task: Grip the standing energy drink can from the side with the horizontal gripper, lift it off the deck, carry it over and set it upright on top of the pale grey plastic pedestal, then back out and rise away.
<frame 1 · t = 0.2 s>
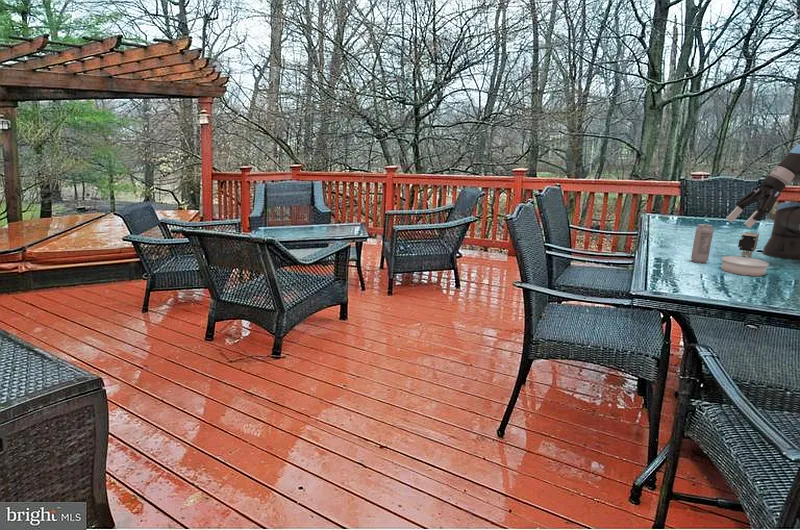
hand: (737, 223, 205), 15 cm above the table, tool tilted 35°, fingers open, 13 cm apart
pedestal: (742, 271, 191), on the table
energy drink can: (698, 262, 204), on the table
pneumatic valve: (744, 260, 209), on the table
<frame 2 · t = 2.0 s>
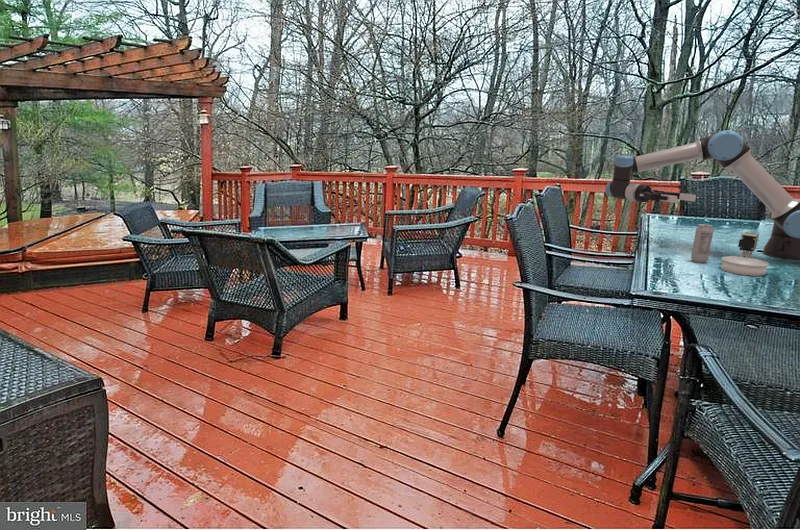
hand: (686, 198, 206), 24 cm above the table, tool horizontal, fingers open, 13 cm apart
nothing on the table moved.
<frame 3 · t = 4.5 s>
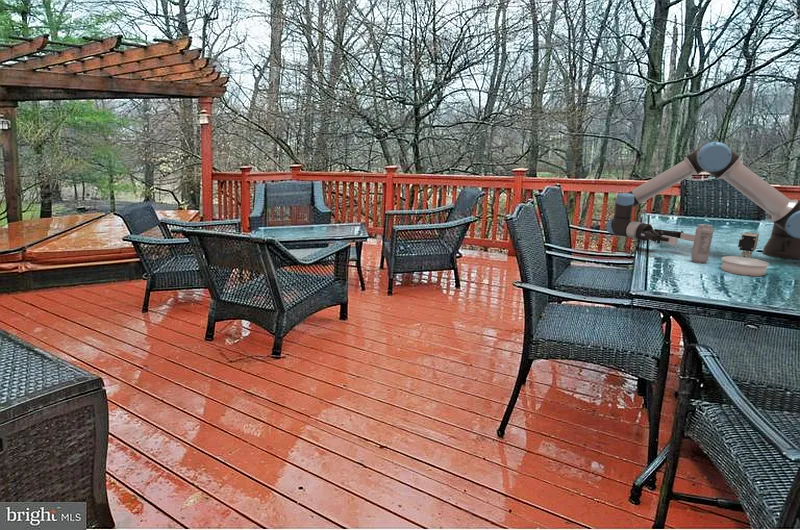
hand: (686, 240, 207), 8 cm above the table, tool horizontal, fingers open, 13 cm apart
nothing on the table moved.
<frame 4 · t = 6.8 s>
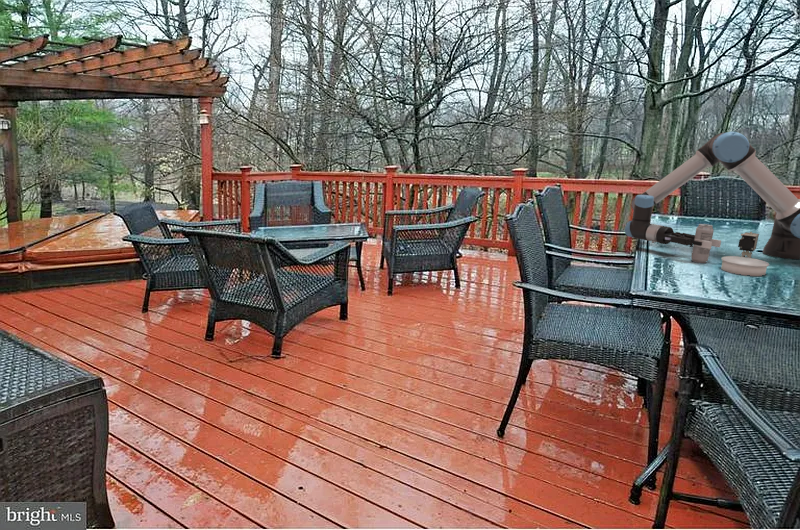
hand: (715, 244, 198), 8 cm above the table, tool horizontal, fingers closed on energy drink can, 6 cm apart
energy drink can: (698, 262, 204), on the table, touching gripper
everything else where it was.
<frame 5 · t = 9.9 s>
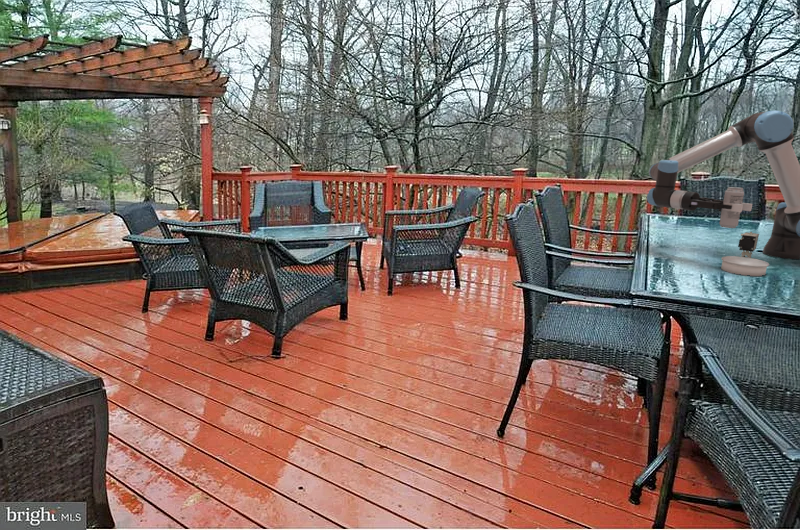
hand: (746, 207, 186), 24 cm above the table, tool horizontal, fingers closed on energy drink can, 6 cm apart
energy drink can: (727, 227, 193), point 16 cm above the table, touching gripper
everything else where it was.
when the fingers open (13 cm above the table, at t = 13.3 s): energy drink can drops 1 cm, resting on pedestal.
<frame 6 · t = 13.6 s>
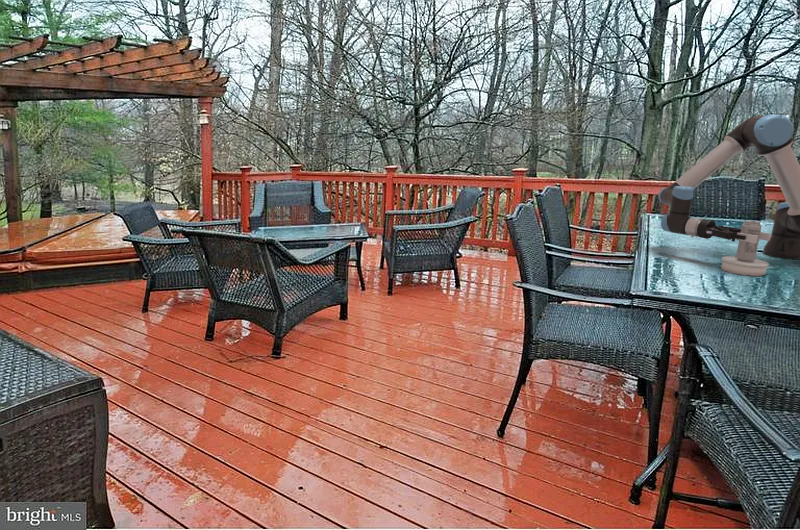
hand: (763, 238, 183), 13 cm above the table, tool horizontal, fingers open, 9 cm apart
energy drink can: (744, 261, 190), point 4 cm above the table, touching pedestal
everything else where it was.
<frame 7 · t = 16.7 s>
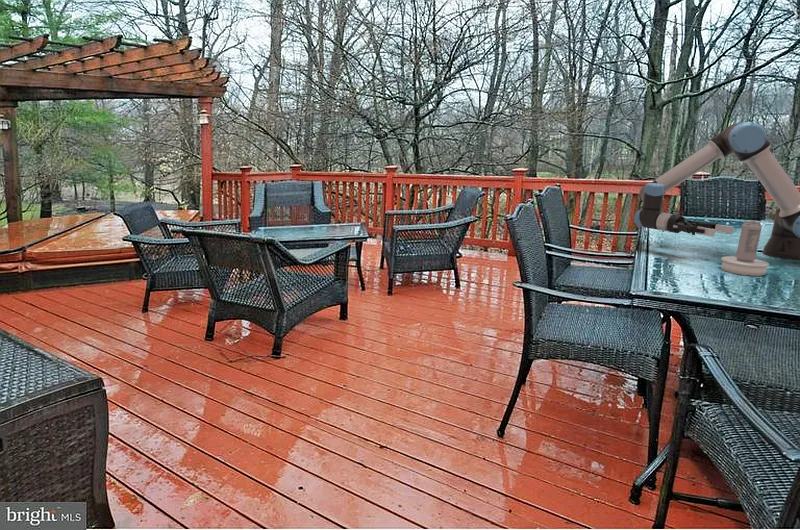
hand: (723, 231, 195), 14 cm above the table, tool horizontal, fingers open, 13 cm apart
nothing on the table moved.
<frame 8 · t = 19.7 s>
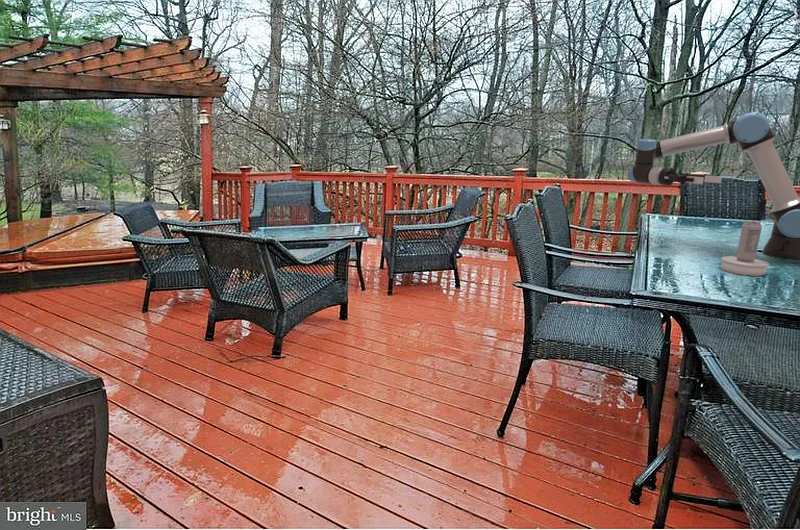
hand: (712, 180, 205), 32 cm above the table, tool horizontal, fingers open, 13 cm apart
nothing on the table moved.
at the end: energy drink can inside the target area on the pedestal (0.4 cm from its centre), point 3.8 cm above the pedestal's base; energy drink can tilted 0°; the gripper is holding nothing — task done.
